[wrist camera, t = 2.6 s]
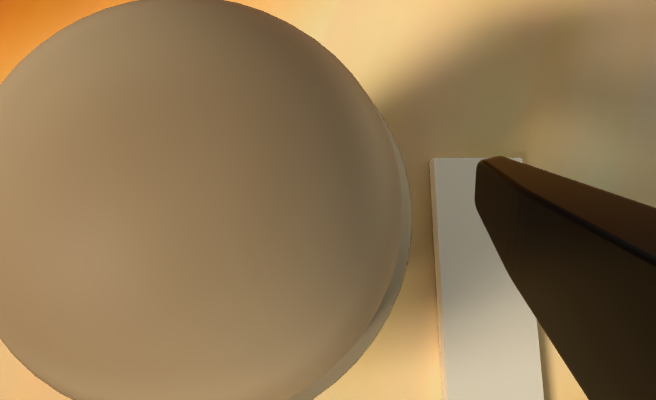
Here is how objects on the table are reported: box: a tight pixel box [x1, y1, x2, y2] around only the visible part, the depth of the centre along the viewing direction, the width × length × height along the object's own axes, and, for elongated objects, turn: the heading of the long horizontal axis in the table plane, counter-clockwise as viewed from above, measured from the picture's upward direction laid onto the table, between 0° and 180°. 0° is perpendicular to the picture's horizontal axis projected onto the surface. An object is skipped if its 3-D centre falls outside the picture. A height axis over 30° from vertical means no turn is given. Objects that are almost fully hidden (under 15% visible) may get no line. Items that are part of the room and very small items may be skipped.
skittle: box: [0, 0, 412, 400], centre depth 10 cm, size 5×5×13 cm
